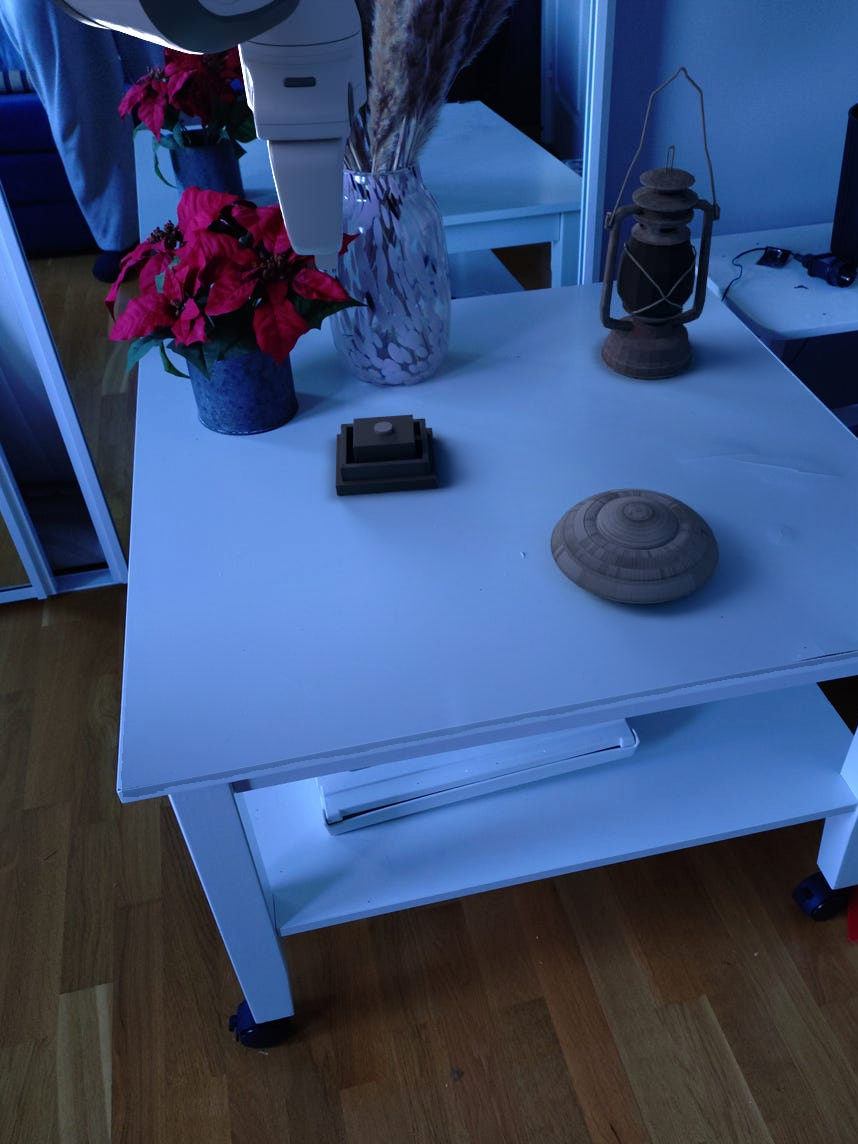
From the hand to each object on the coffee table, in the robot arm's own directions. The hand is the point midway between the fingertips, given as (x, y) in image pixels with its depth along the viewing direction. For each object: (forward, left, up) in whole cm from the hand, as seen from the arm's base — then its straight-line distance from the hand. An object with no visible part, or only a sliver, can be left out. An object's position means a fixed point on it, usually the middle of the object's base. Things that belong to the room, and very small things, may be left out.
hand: (327, 262), depth 78 cm
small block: (+3, +2, -21) cm, 21 cm away
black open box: (+3, +2, -22) cm, 22 cm away
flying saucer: (+25, -15, -22) cm, 37 cm away
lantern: (+34, +20, -22) cm, 45 cm away
